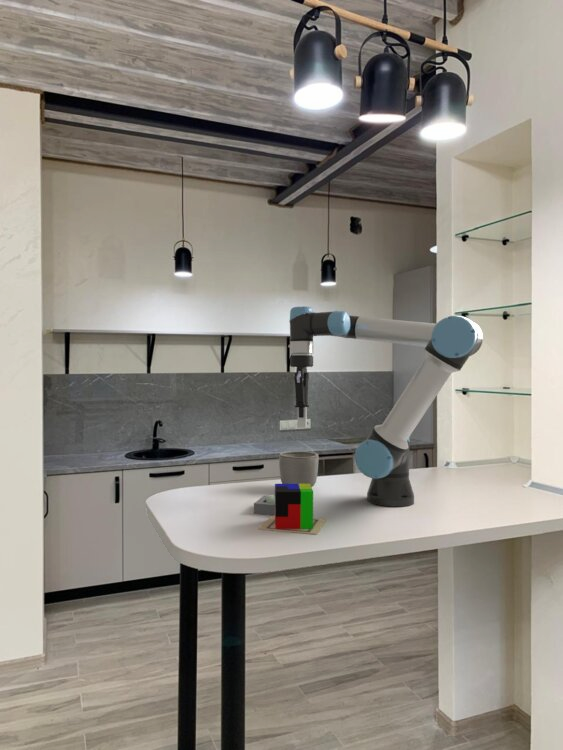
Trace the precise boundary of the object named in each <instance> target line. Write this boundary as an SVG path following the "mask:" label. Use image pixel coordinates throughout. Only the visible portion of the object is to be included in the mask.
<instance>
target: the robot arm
mask: <svg viewBox="0 0 563 750" xmlns="http://www.w3.org/2000/svg"><path fill="white" fill-rule="evenodd" d="M289 336H290V337H289V343H290V344H288V346H287V347H288V348H290V351H289V353H290V356H289V358H290V359H289V366H290V367H291V368H296V370H295V371H296V372H294V378H293V379H294V386H295V387H294V388H295V389H294V390H295V405H294V408H297V410H296V411H297V428H298V429H299V428H300V429H301V428H303V429H306V428H307V424H308V423H307V422H308V421H307V415H308V414H307V408H309V406H310V405H309V404H308V401H309V400H308V399H309V398H308V395H309V380H310V379H309V378H310V375H309V372H308V368H312V367H313V366H314V356H313V355H312V354H314V337H320V336H321V337H323V336H327V337H328V336H329V337H330V336H331V337H339V338H344V339H354V340H364V341H373V342H380V343H381V342H382V343H387V344H388V343H389V344H399V345H407V346H414V347H415V346H416V347H424V355H425V358H424V359H423V360H422V362H421V364H420V365H419V367H418V368H417V370H416V371H415V373H414V375H413V376H412V378H411V379H410V380H409V382H408V383H407V386H406V387H405V388H404V390H403V392H402V393H401V395H400V396H399V397H398V399H397V401H396V402H395V404H394V406H393V407H392V409H391V410H390V411H389V413H388V415H387V416H386V418H385V419H384V421H383V422H382V424H377V425H375V426H374V427H373V429H372V430H371V432H370V433H369V435H368V436H367V438H366V440H363V441H362V442H361V443H359V445H358V446H357V448H356V449H355V453H354V461H355V465H356V467H357V469H358V471H359V472H360V473H362V474H363V475H364V476H366V477H367V478H370V479H371V481H370V482H369V486H368V489H367V492H366V500H367V502H369V503H370V504H374V505H377V506H384V507H406V506H410V505H413V504H414V503H415V493H414V491H413V486H412V483H411V480H410V443H411V441H410V437H411V435H412V433H413V432H414V430H415V429H416V427H417V426H418V424H420V422H421V420H422V418H423V417H424V415H425V414H426V412H427V411H428V409H429V408H430V406H431V405H432V403H433V401H435V399H436V397H437V395H438V394H439V393H440V391H441V390H442V389H443V386H444V385H445V384H446V383H447V382H448V379H449V378H450V376H451V375H452V373H456V372H460V371H461V369H462V368H463V366H464V365H465V364H466V362H467V361H468V359H469V358H470V357H471V356H473V355H475V354H476V353H477V352H478V351H479V350H480V348H481V347H482V345H483V340H484V336H483V331H482V329H481V327H480V325H478V324H477V323H476V322H475V321H473V320H471V319H470V318H468V317H465V316H464V315H451V316H450V315H449V316H446V317H444V318H442V319H441V320H438V322H436V323H435V322H434V323H433V322H431V323H430V322H424V321H423V322H422V321H410V320H403V319H402V320H399V319H389V318H379V317H378V318H377V317H370V316H369V317H368V316H357V315H350V314H348V312H346V311H345V310H342V311H341V310H333V311H324V312H323V311H322V312H314V309H313V307H312V306H294V307H291V309H290V311H289Z"/></svg>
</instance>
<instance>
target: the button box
mask: <svg viewBox="0 0 563 750" xmlns="http://www.w3.org/2000/svg"><path fill="white" fill-rule="evenodd" d="M267 497H272V495H262V496H261V497H260V498H259V499H257V501H255V502H254V503H253V514H256V515H257V514H258V515H267V516H268V515H270V516H272V515H273V516H275V503H266V498H267Z"/></svg>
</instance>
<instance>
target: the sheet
mask: <svg viewBox="0 0 563 750" xmlns="http://www.w3.org/2000/svg"><path fill="white" fill-rule="evenodd" d="M326 522H327V519H320V518H319V519H318V518H313V529H276V528H275V515H270V517H269V518H268V519H266V520H265V521H264V522H263V523H262V524H261V525H260V526H259V527H258V528H257V529H258V530H260V529H262V530H261V531H271V530H274V531H273V532H283V533H292V534H293V533H295V534H305V535H319V532H320V531H321V529H322V527H323V526H324V524H326Z"/></svg>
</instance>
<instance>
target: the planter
mask: <svg viewBox="0 0 563 750" xmlns="http://www.w3.org/2000/svg"><path fill="white" fill-rule="evenodd" d="M319 459H320V456H319V454H318V453H317V452H314V451H313V452H312V451H306V450H305V451H304V450H303V451H302V450H293V451H292V450H291V451H290V450H289V451H283V452H280V453H279V454H278V467H279V476H280V482H281V484H310V485H311V487H312V488H313V487H314V486H315V484H316V483H317V478H318V473H319V461H320V460H319Z"/></svg>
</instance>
